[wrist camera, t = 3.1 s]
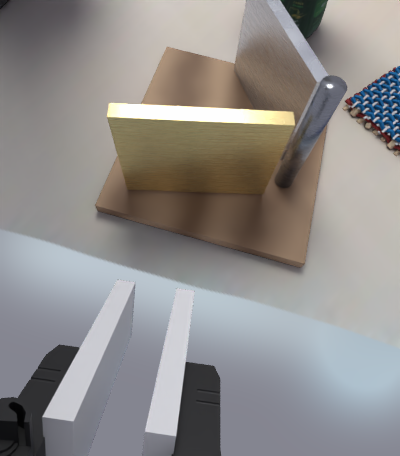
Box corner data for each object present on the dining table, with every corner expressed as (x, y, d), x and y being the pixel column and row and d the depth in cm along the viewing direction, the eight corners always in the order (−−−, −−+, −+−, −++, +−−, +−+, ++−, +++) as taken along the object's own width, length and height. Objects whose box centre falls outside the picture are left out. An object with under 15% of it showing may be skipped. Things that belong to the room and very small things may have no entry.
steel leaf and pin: (303, 188, 36) (368, 88, 23) (275, 196, 35) (328, 98, 23) (243, 75, 42) (271, -52, 29) (219, 81, 41) (237, -47, 29)
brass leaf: (262, 183, 34) (293, 111, 25) (263, 194, 33) (295, 125, 24) (128, 178, 33) (109, 103, 24) (127, 189, 33) (107, 116, 24)
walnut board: (97, 211, 34) (94, 205, 32) (167, 55, 42) (166, 46, 41) (300, 267, 32) (304, 263, 31) (328, 95, 41) (332, 88, 40)
